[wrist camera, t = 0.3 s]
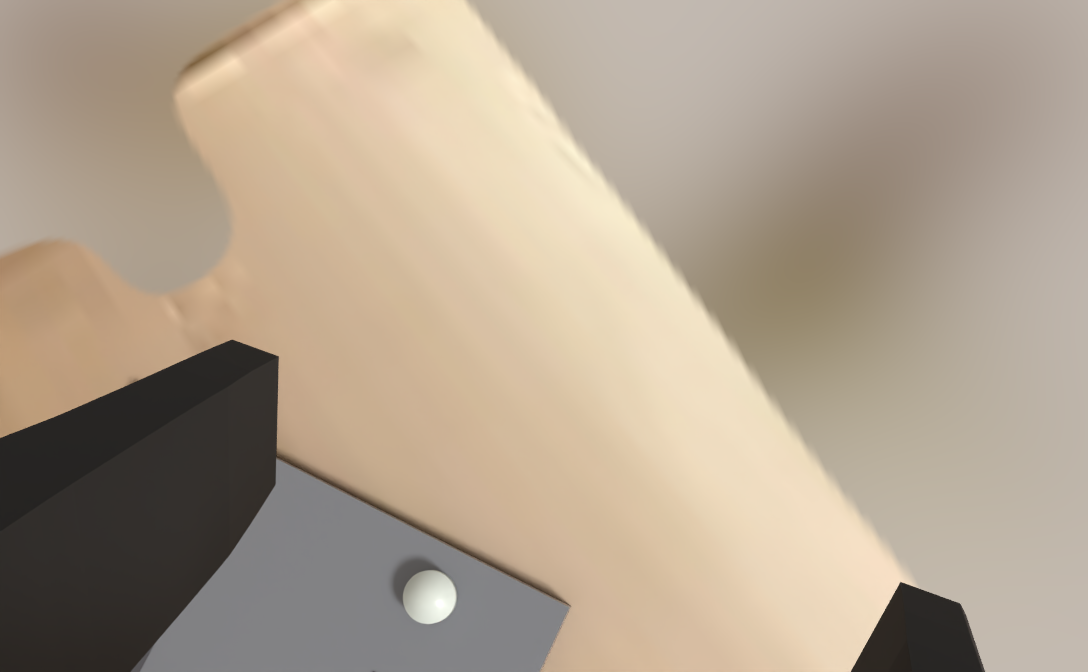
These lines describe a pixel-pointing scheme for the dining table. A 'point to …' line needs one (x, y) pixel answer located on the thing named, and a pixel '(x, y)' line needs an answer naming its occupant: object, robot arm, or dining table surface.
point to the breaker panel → (353, 598)
